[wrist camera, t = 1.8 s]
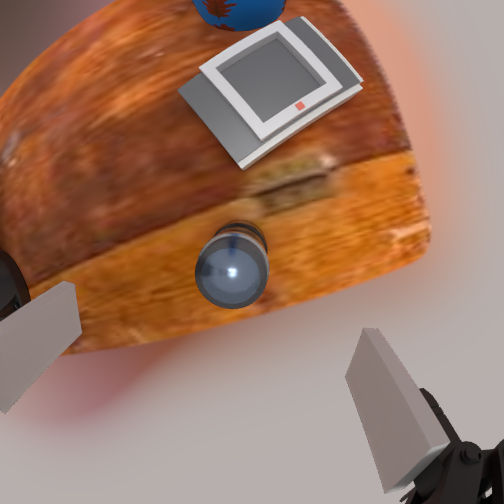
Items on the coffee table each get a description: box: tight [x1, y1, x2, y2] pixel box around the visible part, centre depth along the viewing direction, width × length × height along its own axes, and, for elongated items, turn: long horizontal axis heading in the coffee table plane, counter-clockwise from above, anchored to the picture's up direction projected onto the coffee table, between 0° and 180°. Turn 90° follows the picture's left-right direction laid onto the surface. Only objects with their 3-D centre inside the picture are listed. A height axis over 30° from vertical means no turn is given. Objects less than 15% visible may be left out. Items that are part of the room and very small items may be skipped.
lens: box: [195, 220, 269, 309], centre depth 24 cm, size 6×6×10 cm
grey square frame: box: [177, 16, 363, 170], centre depth 22 cm, size 15×10×7 cm, turn 127°
